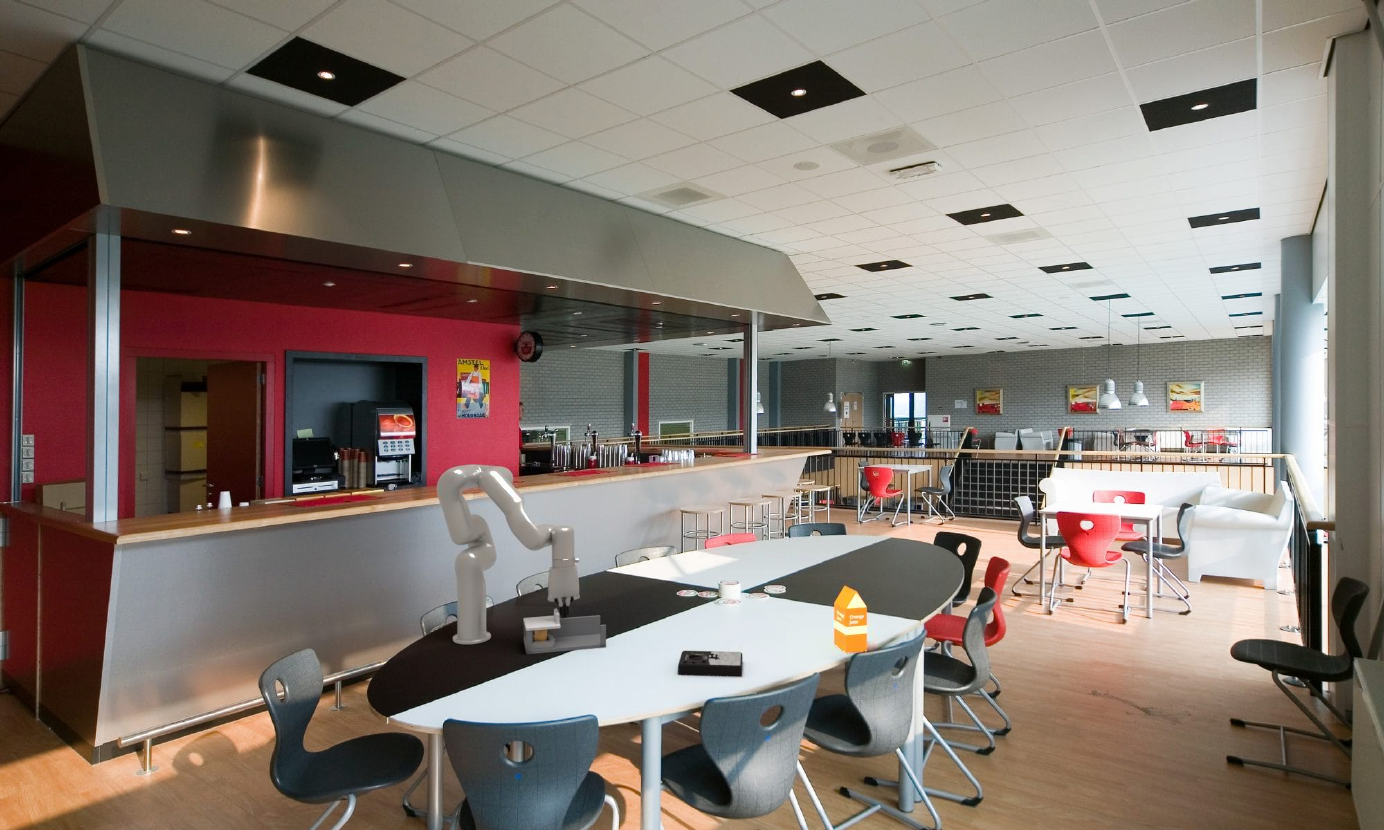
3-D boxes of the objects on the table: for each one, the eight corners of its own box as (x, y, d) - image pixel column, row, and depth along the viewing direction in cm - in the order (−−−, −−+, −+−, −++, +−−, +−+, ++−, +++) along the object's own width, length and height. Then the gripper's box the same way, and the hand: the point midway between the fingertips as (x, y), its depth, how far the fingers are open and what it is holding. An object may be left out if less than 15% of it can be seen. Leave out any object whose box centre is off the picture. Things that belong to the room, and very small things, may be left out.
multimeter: (681, 661, 237) (681, 645, 237) (742, 663, 235) (742, 647, 235) (677, 676, 224) (677, 659, 224) (741, 678, 222) (741, 661, 222)
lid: (523, 620, 254) (523, 609, 254) (556, 617, 258) (556, 606, 258) (526, 630, 242) (526, 619, 242) (560, 628, 246) (560, 616, 245)
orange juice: (845, 653, 244) (845, 592, 244) (833, 645, 252) (833, 585, 252) (867, 651, 246) (867, 590, 246) (854, 643, 254) (854, 584, 254)
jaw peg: (535, 642, 252) (535, 627, 252) (547, 641, 252) (547, 626, 252) (534, 645, 248) (534, 630, 248) (546, 645, 248) (546, 630, 248)
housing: (523, 642, 255) (523, 621, 255) (599, 635, 262) (599, 615, 262) (526, 654, 242) (526, 631, 242) (606, 646, 250) (606, 625, 250)
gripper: (583, 559, 258) (584, 612, 258) (539, 562, 253) (540, 616, 253) (587, 563, 250) (587, 618, 251) (541, 566, 246) (542, 622, 246)
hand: (564, 617), depth 252 cm, fingers closed
